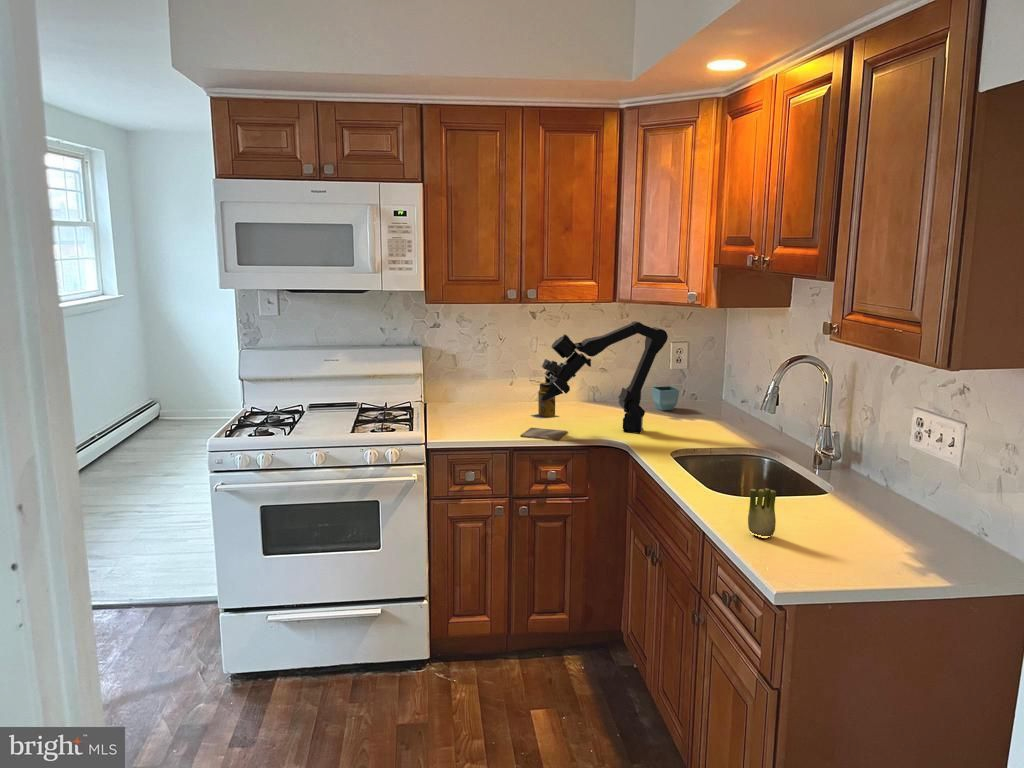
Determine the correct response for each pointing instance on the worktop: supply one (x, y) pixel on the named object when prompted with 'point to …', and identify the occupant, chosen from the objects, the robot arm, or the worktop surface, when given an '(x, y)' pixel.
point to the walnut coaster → (544, 433)
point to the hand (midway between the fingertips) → (540, 398)
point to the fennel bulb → (762, 512)
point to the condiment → (545, 404)
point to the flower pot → (665, 397)
